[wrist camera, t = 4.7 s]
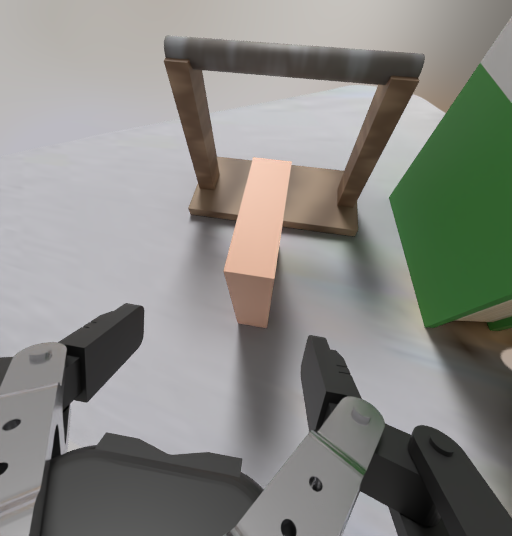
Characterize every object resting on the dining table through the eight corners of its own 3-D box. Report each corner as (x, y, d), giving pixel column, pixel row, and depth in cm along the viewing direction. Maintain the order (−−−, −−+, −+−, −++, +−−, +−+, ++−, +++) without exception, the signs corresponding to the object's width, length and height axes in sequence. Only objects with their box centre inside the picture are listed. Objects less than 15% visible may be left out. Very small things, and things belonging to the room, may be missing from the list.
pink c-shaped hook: (237, 323, 25) (223, 270, 14) (254, 243, 29) (253, 157, 19) (266, 328, 24) (274, 278, 14) (279, 246, 29) (291, 161, 18)
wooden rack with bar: (190, 214, 31) (135, 66, 17) (210, 162, 36) (179, 11, 22) (354, 236, 30) (444, 92, 15) (353, 179, 34) (421, 27, 20)
